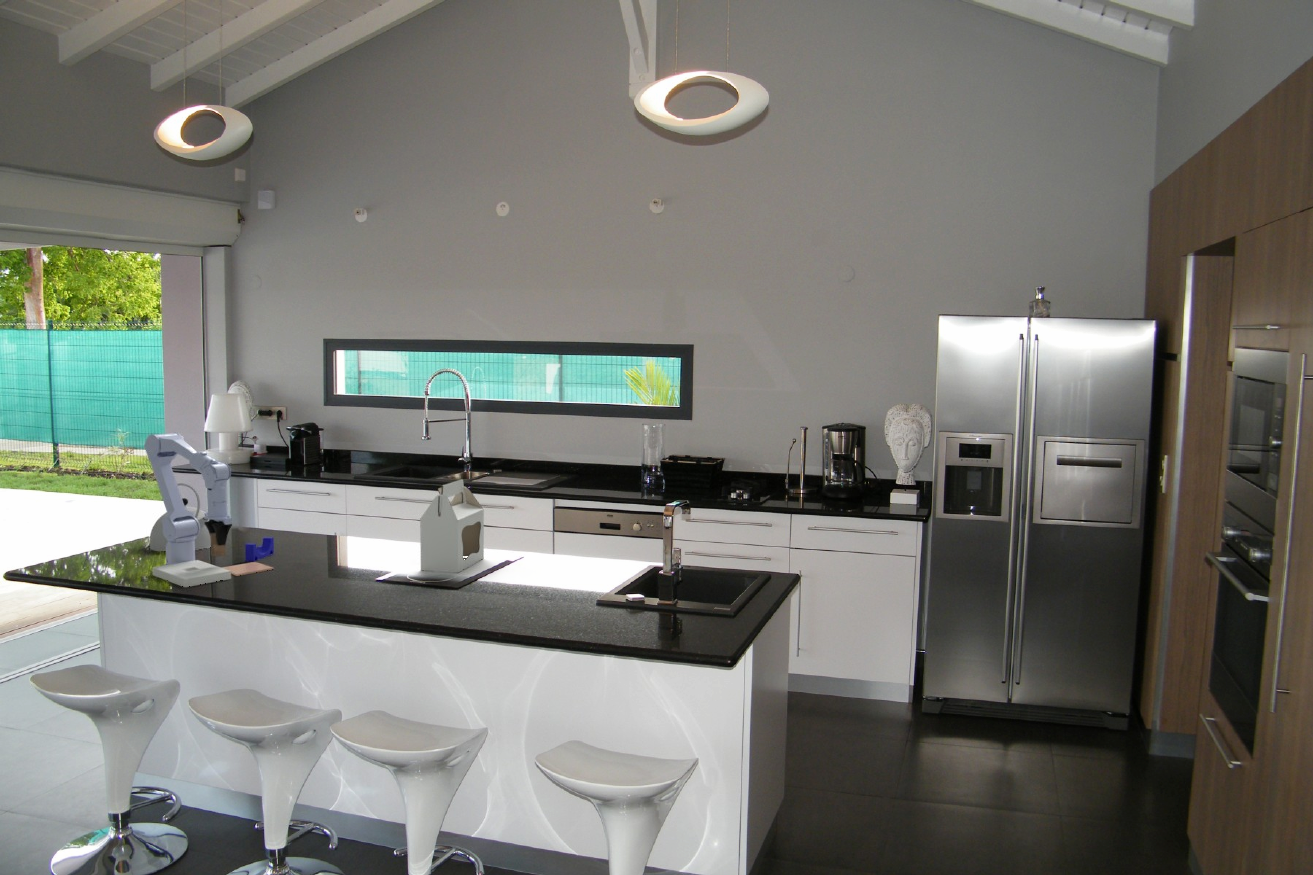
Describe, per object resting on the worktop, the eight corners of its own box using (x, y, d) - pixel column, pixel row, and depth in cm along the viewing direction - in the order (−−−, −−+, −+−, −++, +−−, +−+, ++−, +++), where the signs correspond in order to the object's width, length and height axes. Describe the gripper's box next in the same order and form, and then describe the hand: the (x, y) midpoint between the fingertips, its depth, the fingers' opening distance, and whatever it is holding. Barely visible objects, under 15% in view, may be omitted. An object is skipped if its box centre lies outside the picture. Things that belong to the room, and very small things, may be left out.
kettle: (237, 544, 337) (235, 483, 335) (177, 556, 318) (175, 490, 316) (196, 536, 350) (194, 477, 348) (136, 546, 331) (134, 484, 329)
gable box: (448, 556, 325) (448, 476, 322) (484, 558, 322) (484, 478, 319) (420, 570, 303) (419, 485, 300) (457, 573, 300) (457, 487, 298)
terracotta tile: (219, 569, 299) (218, 567, 299) (254, 563, 309) (254, 561, 308) (237, 576, 292) (237, 574, 292) (273, 569, 301) (273, 567, 301)
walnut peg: (211, 555, 294) (210, 533, 293) (221, 553, 296) (220, 531, 296) (215, 556, 292) (215, 534, 291) (225, 554, 294) (225, 533, 294)
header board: (152, 575, 291) (152, 567, 291) (198, 567, 302) (197, 559, 302) (184, 587, 277) (184, 579, 277) (231, 578, 288) (230, 570, 288)
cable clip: (261, 553, 324) (261, 536, 323) (273, 554, 323) (273, 537, 323) (241, 561, 312) (241, 543, 311) (253, 562, 311) (253, 544, 311)
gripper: (194, 500, 294) (195, 542, 296) (215, 505, 285) (216, 549, 286) (216, 497, 300) (217, 539, 301) (238, 503, 290) (239, 545, 292)
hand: (218, 543), depth 294 cm, fingers closed on walnut peg, 3 cm apart
